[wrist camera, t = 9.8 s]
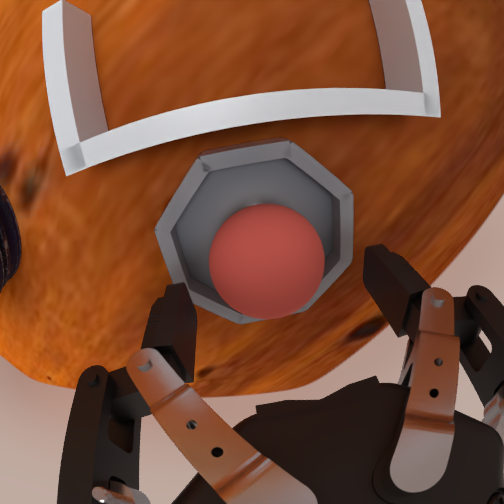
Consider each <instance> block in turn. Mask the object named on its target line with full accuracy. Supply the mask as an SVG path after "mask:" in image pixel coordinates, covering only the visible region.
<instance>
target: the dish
mask: <svg viewBox="0 0 504 504" xmlns="http://www.w3.org/2000/svg"><path fill="white" fill-rule="evenodd" d="M256 204H277V205H282V206H285V207H288V208H290V209H292V210H294V211H296V212H298V213H299V214H301V215H302V216H303V217H304V218H306V219H307V220H308V221H309V222H310V224H311V225H312V226H313V227H314V229H315V230H316V232H317V234H318V235H319V238H320V240H321V242H322V246H323V250H324V257H325V265H324V272H323V277H322V280H321V283H320V285H319V287H318V289H317V291H316V293H315V294H314V296H313V297H312V298H311V299H310V300H309V302H307V303H306V304H305V305H304V306H303V307H302V308H300V309H299V310H297V311H296V312H294V313H292V314H295V313H299V312H304V311H305V310H308V309H309V308H310V306H311V305H312V304H313V303H314V302H315V301H316V300H317V299H318V298H319V297H320V296H321V295H322V294H323V293H324V292H325V291H326V290H327V289H328V288H329V287H330V286H331V285H332V283H333V282H334V281H335V280H336V279H337V278H338V277H339V276H340V275H341V274H342V273H343V272H344V270H345V269H346V268H347V267H348V266H349V265H350V264H351V263H352V262H351V261H352V259H353V193H352V191H351V190H350V189H349V188H348V187H347V186H346V185H344V184H343V183H342V182H341V181H340V180H339V179H338V178H337V177H335V176H334V175H333V174H332V173H331V172H330V171H328V170H327V169H326V168H325V167H324V166H322V165H321V164H320V163H319V162H318V161H316V160H315V159H314V158H313V157H311V156H310V155H309V154H308V153H306V152H305V151H304V150H303V149H301V148H300V147H299V146H298V145H296V144H295V143H294V142H292V141H290V140H288V139H285V138H282V137H279V138H272V139H265V140H259V141H253V142H247V143H241V144H235V145H230V146H225V147H220V148H215V149H210V150H205V151H202V153H200V154H199V155H198V157H197V158H196V160H195V161H194V163H193V164H192V166H191V167H190V169H189V170H188V172H187V174H186V175H185V177H184V178H183V180H182V182H181V183H180V185H179V186H178V188H177V190H176V191H175V193H174V195H173V196H172V198H171V200H170V201H169V203H168V205H167V206H166V208H165V210H164V211H163V213H162V215H161V217H160V219H159V221H158V223H157V225H156V227H155V234H156V237H157V240H158V243H159V246H160V249H161V252H162V255H163V257H164V260H165V263H166V266H167V268H168V271H169V274H170V276H171V279H172V282H173V284H176V283H181V282H184V283H185V284H186V286H187V289H188V292H189V294H190V297H191V300H192V302H193V304H195V305H197V306H200V307H202V308H204V309H206V310H208V311H210V312H212V313H215V314H217V315H219V316H221V317H223V318H226V319H228V320H230V321H232V322H235V323H237V324H239V323H240V324H245V323H251V322H256V321H261V320H266V319H258V318H253V317H249V316H246V315H244V314H242V313H240V312H238V311H236V310H235V309H233V308H232V307H230V306H229V305H228V304H227V303H226V302H225V301H224V300H223V299H222V297H221V296H220V295H219V293H218V292H217V290H216V288H215V286H214V284H213V281H212V278H211V275H210V270H209V254H210V248H211V245H212V241H213V239H214V237H215V235H216V233H217V231H218V230H219V228H220V227H221V225H222V224H223V223H224V222H225V221H226V220H227V219H228V218H229V217H230V216H232V215H233V214H235V213H236V212H238V211H239V210H241V209H243V208H246V207H249V206H252V205H256Z"/></svg>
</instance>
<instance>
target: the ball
mask: <svg viewBox="0 0 504 504" xmlns="http://www.w3.org/2000/svg"><path fill="white" fill-rule="evenodd" d="M324 265H325V257H324V250H323V246H322V242H321V240H320V238H319V235H318V234H317V232H316V230H315V229H314V227H313V226H312V225H311V224H310V222H309V221H308V220H307V219H306V218H304V217H303V216H302V215H301V214H299V213H298V212H296V211H294V210H292V209H290V208H288V207H285V206H282V205H277V204H256V205H252V206H249V207H246V208H243V209H241V210H239V211H238V212H236V213H235V214H233V215H232V216H230V217H229V218H228V219H227V220H226V221H225V222H224V223H223V224H222V225H221V227H220V228H219V230H218V231H217V233H216V235H215V237H214V239H213V241H212V245H211V248H210V254H209V270H210V275H211V278H212V281H213V284H214V286H215V288H216V290H217V292H218V293H219V295H220V296H221V297H222V299H223V300H224V301H225V302H226V303H227V304H228V305H229V306H230V307H232V308H233V309H235V310H236V311H238V312H240V313H242V314H244V315H246V316H249V317H253V318H258V319H276V318H281V317H285V316H287V315H290V314H292V313H294V312H296V311H297V310H299V309H300V308H302V307H303V306H304V305H305V304H306V303H307V302H309V300H310V299H311V298H312V297H313V296H314V294H315V293H316V291H317V289H318V287H319V285H320V283H321V280H322V277H323V272H324Z"/></svg>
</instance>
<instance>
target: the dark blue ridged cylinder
mask: <svg viewBox="0 0 504 504" xmlns="http://www.w3.org/2000/svg"><path fill="white" fill-rule="evenodd" d="M20 259H21V239H20V232H19V227H18V224H17V220H16V216H15V214H14V211H13V208H12V206H11V204H10V201H9V199H8V197H7V196H6V194H5V192H4V190H3V189H2V187H1V186H0V293H1V290H2V288H3V287H4V286H5V284H6V282H7V281H8V280H9V279H10V278H11V277H12V276H13V275H14V274H15V273H16V271H17V269H18V267H19V264H20Z"/></svg>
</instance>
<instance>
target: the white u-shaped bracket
mask: <svg viewBox="0 0 504 504" xmlns="http://www.w3.org/2000/svg"><path fill="white" fill-rule="evenodd" d="M369 3H370V7H371V11H372V14H373V18H374V23H375V27H376V31H377V36H378V41H379V46H380V52H381V57H382V63H383V70H384V77H385V84H386V89H368V88H321V89H302V90H289V91H278V92H269V93H261V94H253V95H246V96H240V97H234V98H228V99H222V100H217V101H212V102H207V103H202V104H198V105H193V106H189V107H185V108H181V109H177V110H173V111H169V112H166V113H162V114H159V115H155V116H152V117H149V118H145V119H142V120H139V121H136V122H133V123H130V124H127V125H124V126H121V127H118V128H116V129H113V130H110V131H108V127H107V122H106V118H105V113H104V108H103V103H102V98H101V93H100V87H99V81H98V75H97V68H96V61H95V54H94V45H93V36H92V24H91V15H89V14H88V13H86V12H84V11H83V10H81V9H79V8H77V7H76V6H74V5H72V4H70V3H69V2H67V1H65V0H60V1H58V2H57V3H55V4H53V5H52V6H50V7H48V8H47V9H45V10H44V11H42V39H43V57H44V69H45V78H46V86H47V93H48V99H49V105H50V111H51V116H52V121H53V126H54V131H55V135H56V140H57V144H58V148H59V152H60V156H61V159H62V163H63V167H64V170H65V173H66V176H68V175H71V174H73V173H76V172H78V171H81V170H83V169H86V168H88V167H91V166H93V165H96V164H99V163H102V162H104V161H107V160H110V159H113V158H116V157H119V156H122V155H125V154H128V153H131V152H134V151H137V150H141V149H144V148H147V147H151V146H154V145H158V144H161V143H165V142H169V141H173V140H176V139H180V138H184V137H189V136H193V135H197V134H202V133H206V132H211V131H216V130H221V129H226V128H231V127H237V126H243V125H249V124H255V123H262V122H269V121H277V120H285V119H294V118H305V117H317V116H332V115H356V114H392V115H416V116H430V117H441V112H440V98H439V87H438V78H437V71H436V64H435V58H434V52H433V47H432V41H431V37H430V32H429V28H428V24H427V20H426V16H425V12H424V9H423V5H422V2H421V0H369Z"/></svg>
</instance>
